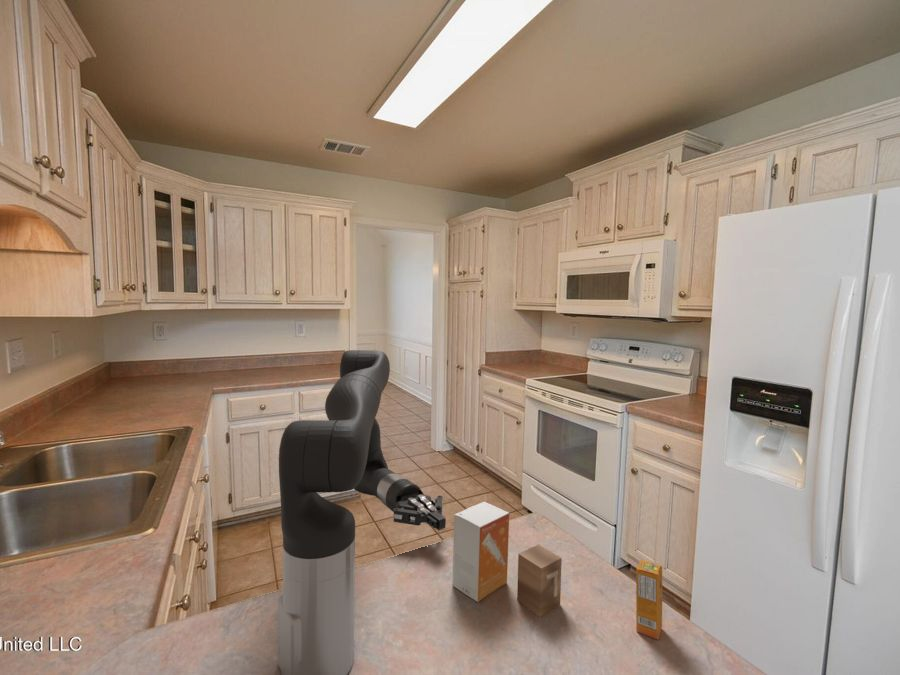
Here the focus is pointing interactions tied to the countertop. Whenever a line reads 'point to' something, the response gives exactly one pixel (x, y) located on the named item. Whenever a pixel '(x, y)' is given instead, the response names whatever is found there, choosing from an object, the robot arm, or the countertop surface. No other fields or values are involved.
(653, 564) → the supplement box
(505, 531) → the small box
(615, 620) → the countertop surface
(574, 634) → the countertop surface
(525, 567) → the walnut digit block
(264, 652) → the countertop surface
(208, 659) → the countertop surface
